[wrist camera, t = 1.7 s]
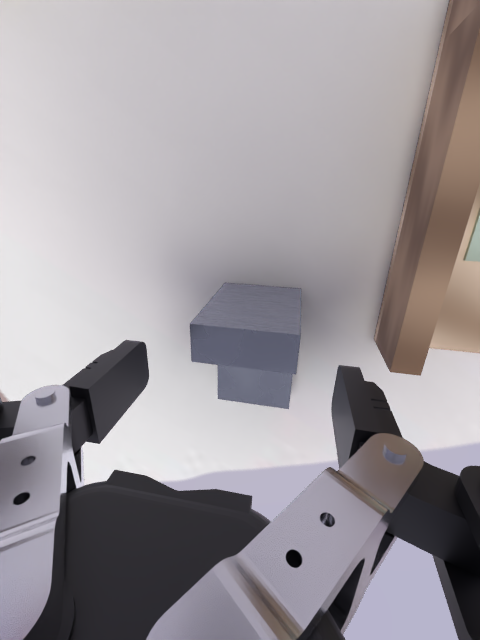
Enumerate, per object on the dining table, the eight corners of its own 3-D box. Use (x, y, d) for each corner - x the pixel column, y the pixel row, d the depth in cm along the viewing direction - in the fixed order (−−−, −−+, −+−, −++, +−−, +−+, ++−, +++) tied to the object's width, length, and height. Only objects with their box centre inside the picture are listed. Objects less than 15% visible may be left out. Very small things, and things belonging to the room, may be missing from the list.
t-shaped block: (225, 282, 20) (190, 323, 14) (300, 288, 19) (300, 335, 13) (224, 382, 23) (195, 453, 17) (289, 391, 22) (284, 469, 16)
